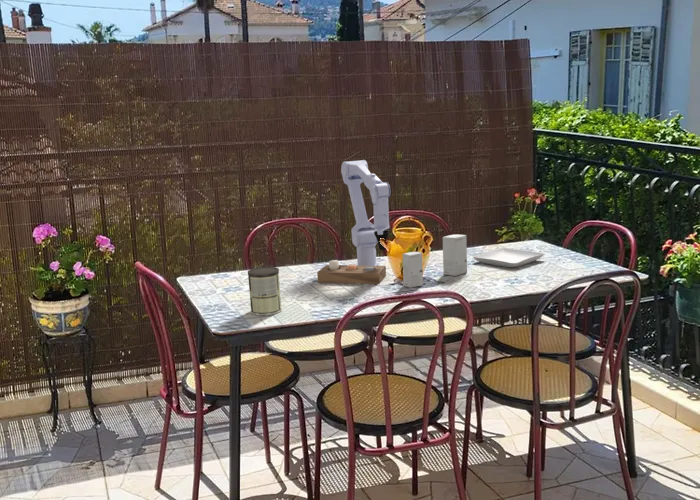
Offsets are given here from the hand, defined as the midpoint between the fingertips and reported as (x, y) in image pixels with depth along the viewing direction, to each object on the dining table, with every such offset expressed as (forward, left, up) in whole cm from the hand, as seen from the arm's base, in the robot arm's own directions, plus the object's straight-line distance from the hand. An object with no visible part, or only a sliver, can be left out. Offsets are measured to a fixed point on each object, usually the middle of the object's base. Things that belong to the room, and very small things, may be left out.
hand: (382, 249), depth 277 cm
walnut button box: (+6, -11, -10) cm, 16 cm away
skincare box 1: (+13, +14, -11) cm, 22 cm away
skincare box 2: (-6, +27, -11) cm, 30 cm away
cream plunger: (+6, -18, -8) cm, 20 cm away
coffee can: (+50, -29, -11) cm, 59 cm away
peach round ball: (+6, -11, -10) cm, 16 cm away
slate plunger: (+6, -4, -10) cm, 13 cm away
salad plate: (-27, +46, -11) cm, 54 cm away
